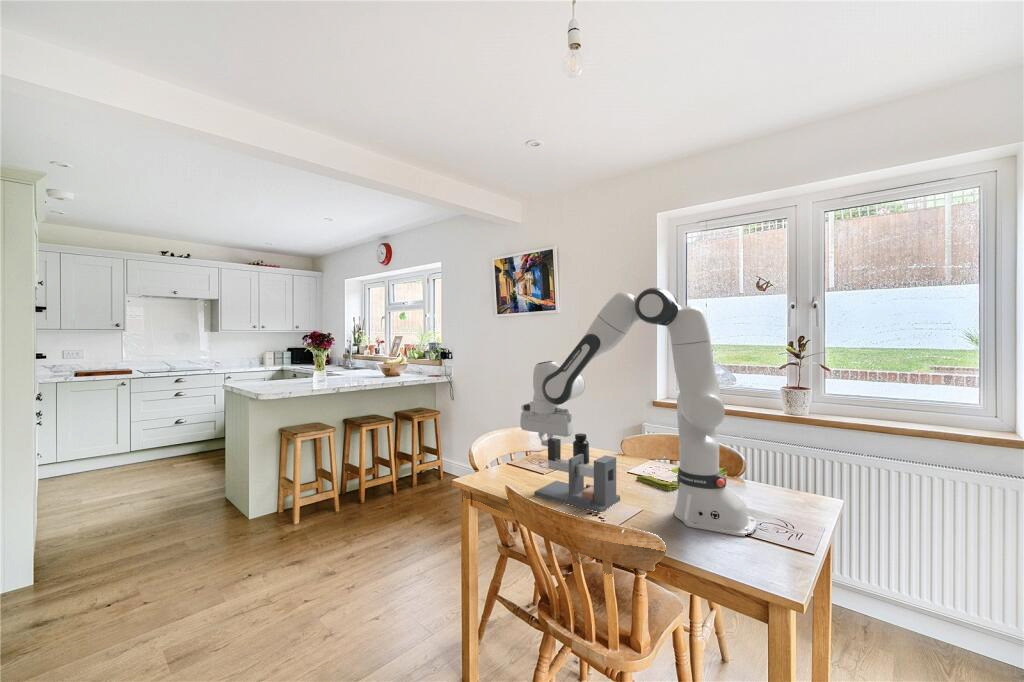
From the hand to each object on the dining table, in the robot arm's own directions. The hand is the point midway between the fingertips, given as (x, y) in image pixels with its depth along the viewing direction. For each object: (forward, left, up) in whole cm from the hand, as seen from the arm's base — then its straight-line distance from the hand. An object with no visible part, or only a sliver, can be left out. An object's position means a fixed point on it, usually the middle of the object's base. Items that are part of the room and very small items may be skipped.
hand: (546, 445), depth 159 cm
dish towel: (-34, -43, -17) cm, 58 cm away
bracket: (-12, 0, -16) cm, 20 cm away
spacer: (-18, 0, -12) cm, 22 cm away
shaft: (-11, 0, -7) cm, 14 cm away
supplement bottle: (+7, -37, -16) cm, 41 cm away
